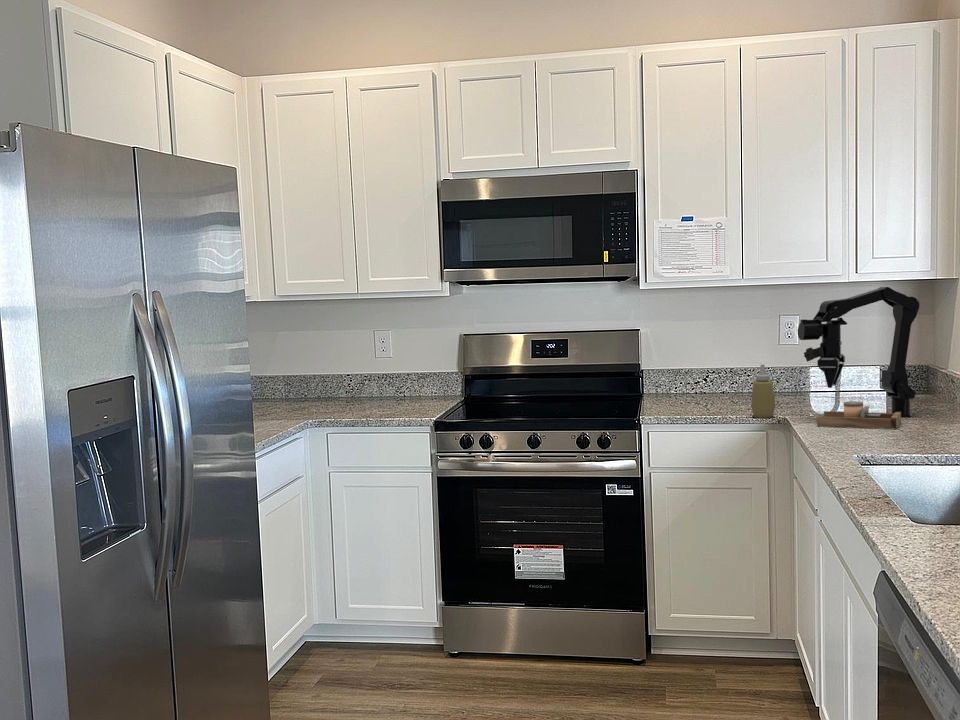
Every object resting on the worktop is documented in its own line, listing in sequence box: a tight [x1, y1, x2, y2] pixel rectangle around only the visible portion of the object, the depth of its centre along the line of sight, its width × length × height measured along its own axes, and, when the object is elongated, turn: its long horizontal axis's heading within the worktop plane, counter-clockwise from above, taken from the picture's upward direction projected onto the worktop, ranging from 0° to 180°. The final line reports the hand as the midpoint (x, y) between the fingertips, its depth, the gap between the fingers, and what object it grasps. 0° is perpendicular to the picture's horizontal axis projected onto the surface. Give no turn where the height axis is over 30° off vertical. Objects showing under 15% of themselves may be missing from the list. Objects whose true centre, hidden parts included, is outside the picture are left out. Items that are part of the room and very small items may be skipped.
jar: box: [843, 400, 864, 418], centre depth 297 cm, size 6×6×6 cm
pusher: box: [861, 405, 881, 418], centre depth 295 cm, size 10×5×4 cm, turn 150°
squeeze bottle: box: [750, 364, 776, 419], centre depth 321 cm, size 8×8×18 cm
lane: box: [816, 410, 902, 430], centre depth 297 cm, size 14×23×4 cm, turn 60°
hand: (831, 386), depth 309 cm, fingers open, 9 cm apart
